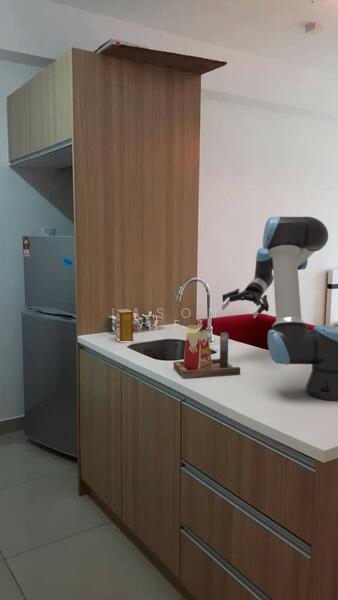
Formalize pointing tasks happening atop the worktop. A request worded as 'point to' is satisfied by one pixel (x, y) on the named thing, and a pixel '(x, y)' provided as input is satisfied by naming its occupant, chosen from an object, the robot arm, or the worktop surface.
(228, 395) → the worktop surface
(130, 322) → the baking soda box
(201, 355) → the milk carton
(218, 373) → the wooden tray
